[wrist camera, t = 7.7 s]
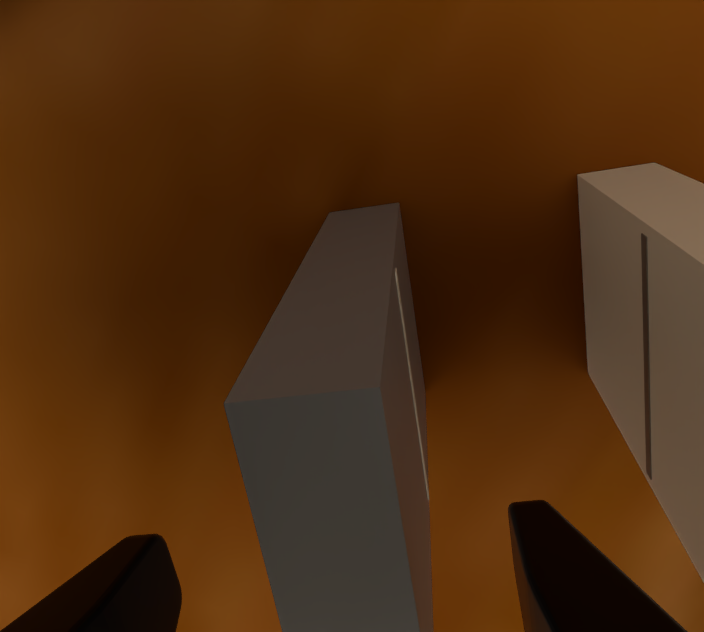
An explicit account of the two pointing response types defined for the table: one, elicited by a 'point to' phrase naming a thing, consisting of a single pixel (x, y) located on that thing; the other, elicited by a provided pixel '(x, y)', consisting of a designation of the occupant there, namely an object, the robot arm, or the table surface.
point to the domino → (650, 327)
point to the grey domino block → (341, 436)
